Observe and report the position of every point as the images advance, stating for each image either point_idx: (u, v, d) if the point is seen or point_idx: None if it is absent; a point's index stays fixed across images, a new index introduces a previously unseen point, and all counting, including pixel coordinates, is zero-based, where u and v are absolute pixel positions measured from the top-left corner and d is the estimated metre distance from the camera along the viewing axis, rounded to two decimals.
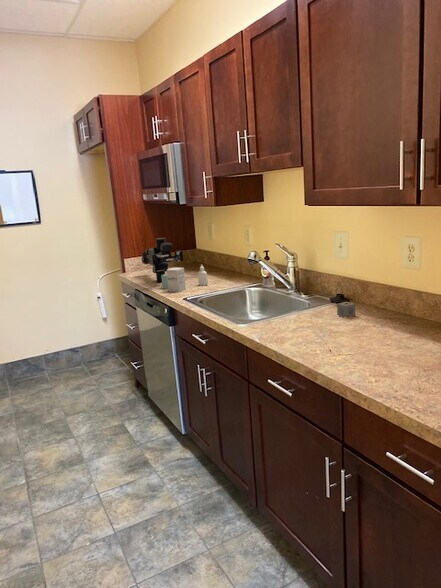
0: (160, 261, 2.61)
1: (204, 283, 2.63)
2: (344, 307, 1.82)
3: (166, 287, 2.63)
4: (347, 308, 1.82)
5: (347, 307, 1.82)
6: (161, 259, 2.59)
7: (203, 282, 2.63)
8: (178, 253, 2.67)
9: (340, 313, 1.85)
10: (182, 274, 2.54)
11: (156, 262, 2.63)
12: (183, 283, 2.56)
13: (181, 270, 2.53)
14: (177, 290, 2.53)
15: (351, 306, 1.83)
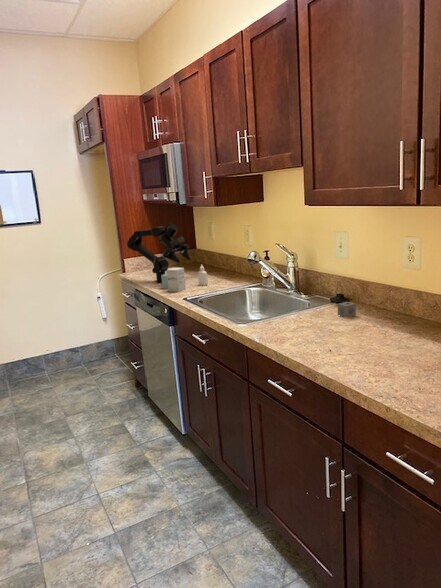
0: (173, 258, 2.67)
1: (204, 283, 2.63)
2: (344, 307, 1.82)
3: (166, 287, 2.63)
4: (347, 308, 1.82)
5: (347, 307, 1.82)
6: (176, 259, 2.66)
7: (203, 282, 2.63)
8: (187, 250, 2.75)
9: (341, 313, 1.85)
10: (182, 274, 2.54)
11: (168, 257, 2.67)
12: (183, 283, 2.56)
13: (181, 270, 2.53)
14: (177, 290, 2.53)
15: (351, 306, 1.83)
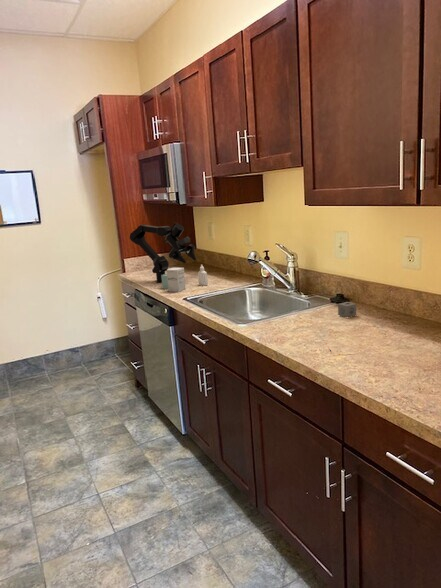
0: (179, 259, 2.65)
1: (204, 283, 2.63)
2: (345, 307, 1.82)
3: (166, 287, 2.63)
4: (348, 308, 1.82)
5: (348, 307, 1.81)
6: (182, 259, 2.64)
7: (203, 282, 2.63)
8: (193, 250, 2.73)
9: (341, 313, 1.85)
10: (182, 274, 2.54)
11: (174, 257, 2.64)
12: (183, 283, 2.56)
13: (181, 270, 2.53)
14: (177, 290, 2.53)
15: (352, 306, 1.82)
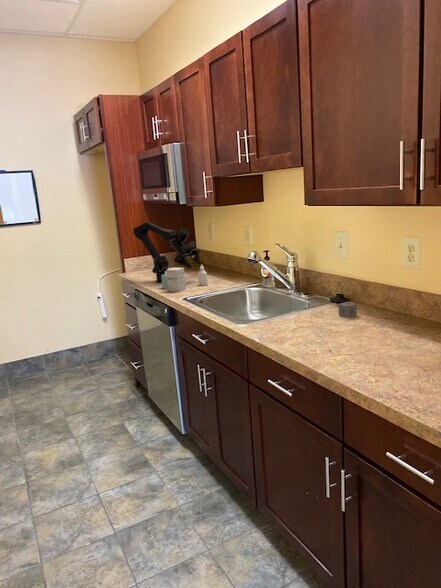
0: (184, 263, 2.63)
1: (204, 283, 2.63)
2: (345, 307, 1.82)
3: (166, 287, 2.63)
4: (348, 308, 1.81)
5: (348, 307, 1.81)
6: (187, 264, 2.62)
7: (203, 282, 2.63)
8: (198, 254, 2.71)
9: (341, 313, 1.84)
10: (182, 274, 2.54)
11: (179, 262, 2.63)
12: (183, 283, 2.56)
13: (181, 270, 2.53)
14: (177, 290, 2.53)
15: (352, 306, 1.82)
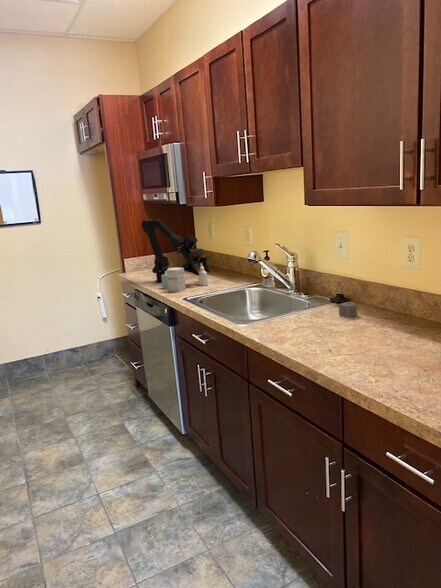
0: (193, 271, 2.61)
1: (205, 283, 2.63)
2: (346, 307, 1.82)
3: (166, 287, 2.63)
4: (349, 308, 1.81)
5: (349, 307, 1.81)
6: (195, 271, 2.60)
7: (203, 282, 2.63)
8: (206, 262, 2.69)
9: (342, 313, 1.84)
10: (182, 274, 2.54)
11: (187, 269, 2.60)
12: (183, 283, 2.56)
13: (181, 270, 2.53)
14: (177, 290, 2.53)
15: (353, 306, 1.82)
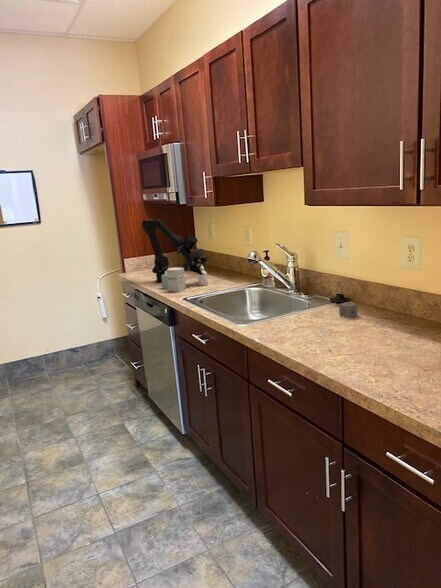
0: (196, 271, 2.63)
1: (204, 283, 2.63)
2: (346, 307, 1.81)
3: (166, 287, 2.63)
4: (349, 308, 1.81)
5: (349, 307, 1.81)
6: (199, 271, 2.62)
7: (203, 282, 2.63)
8: (203, 263, 2.67)
9: (342, 313, 1.84)
10: (182, 274, 2.54)
11: (191, 269, 2.62)
12: (183, 283, 2.56)
13: (181, 270, 2.53)
14: (177, 290, 2.53)
15: (353, 306, 1.82)
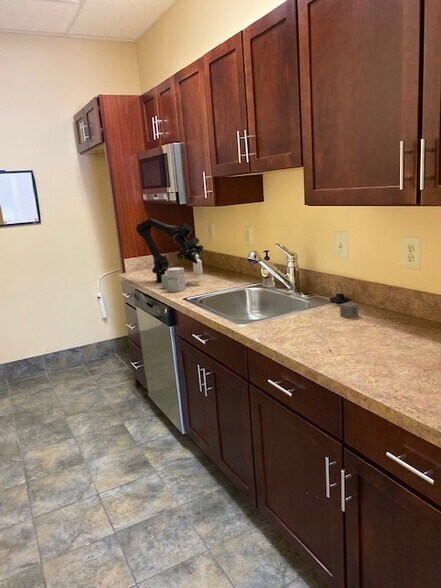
0: (191, 259, 2.63)
1: (199, 272, 2.64)
2: (347, 307, 1.81)
3: (166, 287, 2.63)
4: (350, 308, 1.81)
5: (350, 307, 1.81)
6: (193, 259, 2.62)
7: (198, 270, 2.64)
8: (198, 251, 2.67)
9: (343, 313, 1.84)
10: (182, 274, 2.54)
11: (185, 257, 2.63)
12: (183, 283, 2.56)
13: (181, 270, 2.53)
14: (177, 290, 2.53)
15: (354, 306, 1.82)
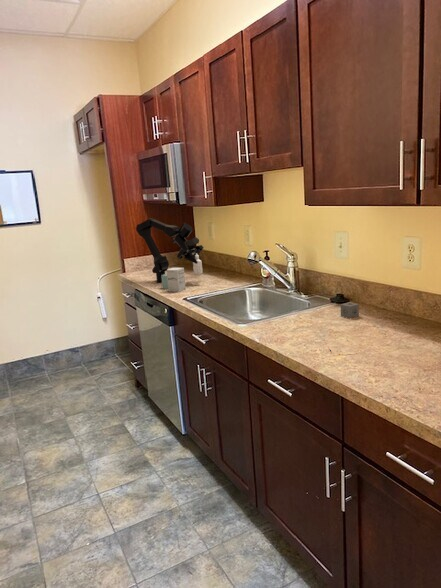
0: (191, 259, 2.63)
1: (199, 272, 2.64)
2: (348, 307, 1.81)
3: (166, 287, 2.63)
4: (351, 308, 1.81)
5: (351, 307, 1.81)
6: (193, 259, 2.62)
7: (198, 270, 2.64)
8: (198, 251, 2.67)
9: (344, 314, 1.84)
10: (182, 274, 2.54)
11: (185, 257, 2.63)
12: (183, 283, 2.56)
13: (181, 270, 2.53)
14: (177, 290, 2.53)
15: (355, 306, 1.82)
